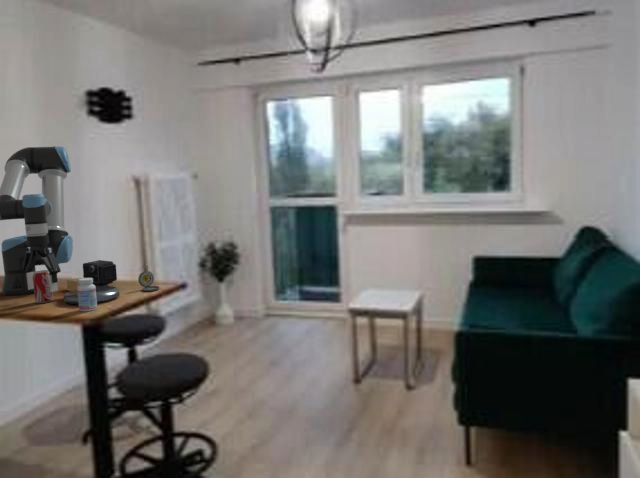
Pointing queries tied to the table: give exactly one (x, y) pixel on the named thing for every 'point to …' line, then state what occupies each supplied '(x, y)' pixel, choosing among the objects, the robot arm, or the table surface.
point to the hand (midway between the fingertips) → (42, 290)
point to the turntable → (101, 292)
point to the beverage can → (42, 287)
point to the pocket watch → (147, 280)
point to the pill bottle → (87, 295)
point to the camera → (100, 272)
